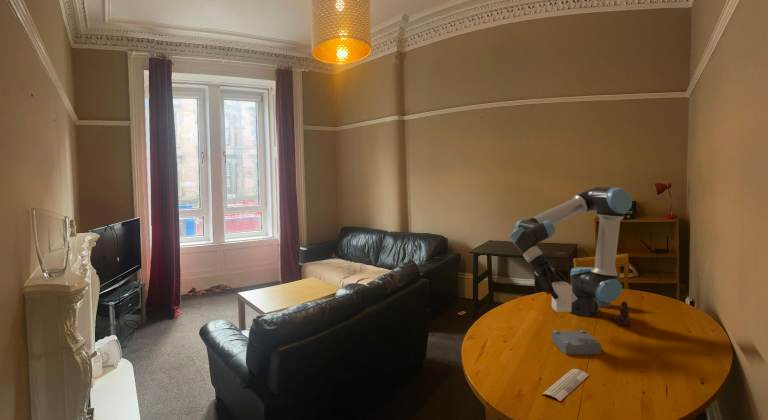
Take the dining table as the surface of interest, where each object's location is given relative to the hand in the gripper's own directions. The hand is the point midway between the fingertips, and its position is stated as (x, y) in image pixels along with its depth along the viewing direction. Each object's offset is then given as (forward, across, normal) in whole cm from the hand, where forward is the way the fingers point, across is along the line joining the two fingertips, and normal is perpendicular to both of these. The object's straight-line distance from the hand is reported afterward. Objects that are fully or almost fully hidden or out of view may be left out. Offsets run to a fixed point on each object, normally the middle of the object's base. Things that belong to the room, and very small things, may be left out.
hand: (569, 302), depth 169 cm
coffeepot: (+3, -61, -24) cm, 65 cm away
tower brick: (0, 0, -5) cm, 5 cm away
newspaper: (+26, +31, -1) cm, 40 cm away
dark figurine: (+15, -43, -11) cm, 47 cm away
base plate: (+15, 0, -11) cm, 19 cm away
